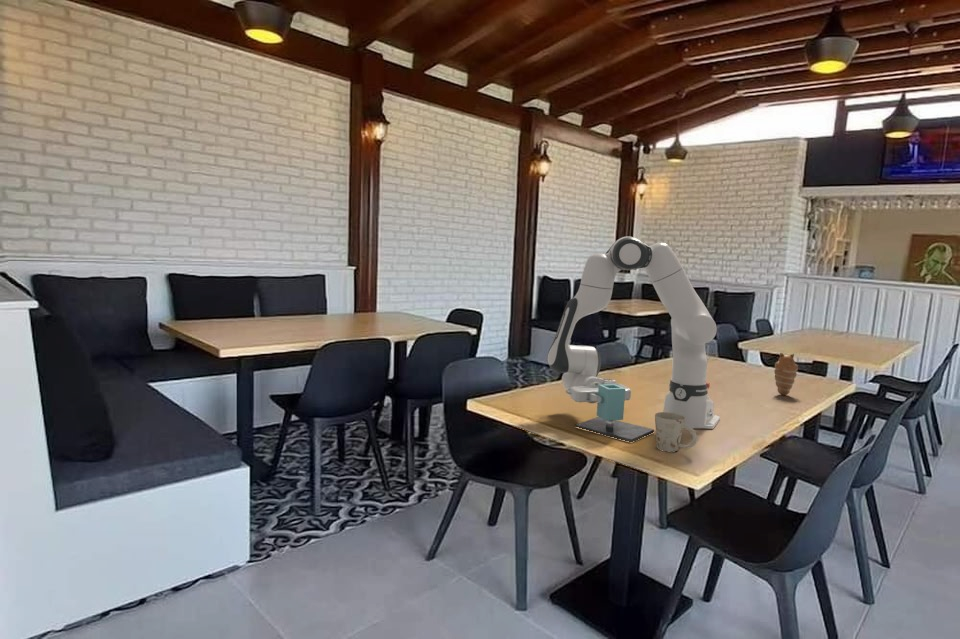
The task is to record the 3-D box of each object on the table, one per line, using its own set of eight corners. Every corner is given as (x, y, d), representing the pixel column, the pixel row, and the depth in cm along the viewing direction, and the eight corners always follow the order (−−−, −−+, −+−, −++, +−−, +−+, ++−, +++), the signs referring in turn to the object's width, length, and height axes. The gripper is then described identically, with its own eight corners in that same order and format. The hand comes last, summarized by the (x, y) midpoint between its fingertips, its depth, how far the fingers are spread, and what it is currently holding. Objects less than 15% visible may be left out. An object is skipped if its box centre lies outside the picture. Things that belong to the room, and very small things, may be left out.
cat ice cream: (773, 396, 244) (777, 353, 242) (770, 392, 251) (774, 350, 249) (796, 398, 241) (800, 355, 239) (793, 394, 249) (797, 352, 247)
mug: (659, 442, 177) (661, 410, 176) (701, 452, 169) (703, 418, 168) (648, 449, 170) (650, 415, 169) (691, 459, 163) (693, 424, 161)
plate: (599, 419, 200) (600, 401, 199) (653, 433, 186) (655, 413, 186) (575, 428, 189) (576, 408, 188) (631, 443, 175) (632, 422, 174)
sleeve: (596, 415, 187) (598, 384, 185) (613, 414, 188) (615, 384, 187) (606, 420, 181) (608, 389, 180) (623, 419, 183) (625, 388, 182)
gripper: (563, 381, 193) (583, 391, 180) (618, 379, 199) (640, 388, 186) (562, 399, 193) (582, 410, 180) (616, 397, 200) (639, 408, 187)
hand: (612, 399), depth 183 cm, fingers closed on sleeve, 6 cm apart
